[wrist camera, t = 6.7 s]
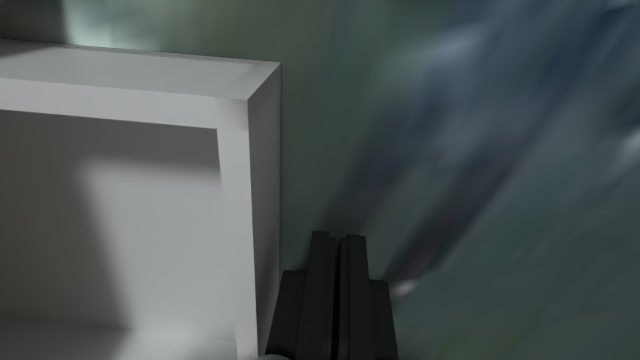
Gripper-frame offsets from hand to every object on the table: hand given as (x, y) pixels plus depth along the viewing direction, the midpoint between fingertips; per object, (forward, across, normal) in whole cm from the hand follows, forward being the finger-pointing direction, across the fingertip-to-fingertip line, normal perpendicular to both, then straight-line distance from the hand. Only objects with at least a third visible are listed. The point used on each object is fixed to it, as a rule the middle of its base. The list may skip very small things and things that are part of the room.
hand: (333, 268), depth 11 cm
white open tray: (+1, +9, 0) cm, 9 cm away
